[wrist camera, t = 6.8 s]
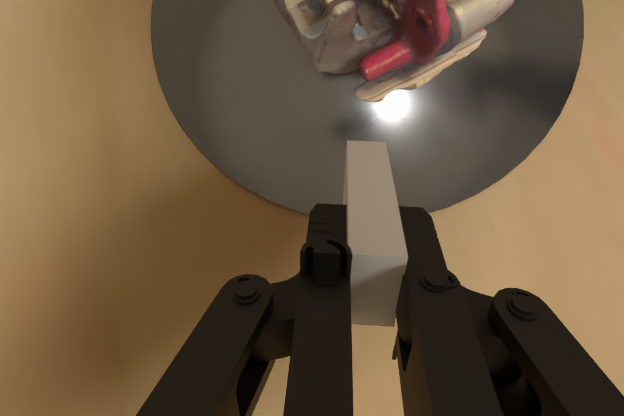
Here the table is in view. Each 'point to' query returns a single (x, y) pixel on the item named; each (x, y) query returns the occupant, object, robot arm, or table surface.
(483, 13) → the brake caliper
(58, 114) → the table surface
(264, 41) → the disc
